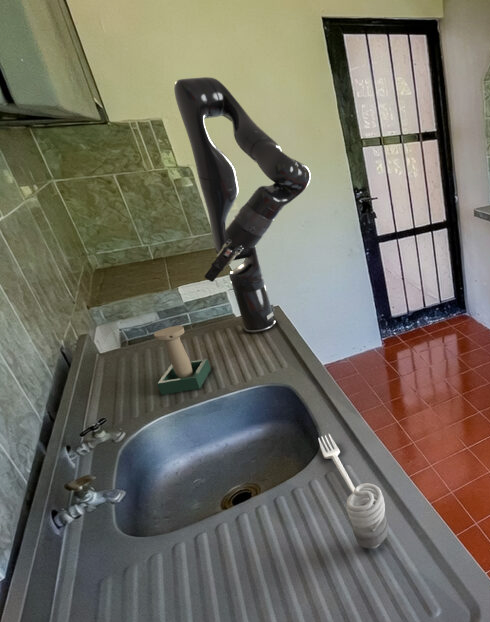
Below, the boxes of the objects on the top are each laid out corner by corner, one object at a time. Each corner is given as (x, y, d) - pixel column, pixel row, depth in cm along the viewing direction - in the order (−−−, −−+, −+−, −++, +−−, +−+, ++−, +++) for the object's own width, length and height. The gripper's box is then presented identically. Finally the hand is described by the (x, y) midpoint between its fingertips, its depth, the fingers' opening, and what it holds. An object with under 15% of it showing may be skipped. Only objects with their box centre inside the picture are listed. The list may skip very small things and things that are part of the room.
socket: (175, 374, 126) (171, 364, 125) (211, 369, 128) (207, 358, 127) (161, 394, 117) (156, 383, 116) (199, 388, 119) (195, 377, 118)
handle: (202, 379, 123) (184, 330, 116) (174, 388, 119) (154, 338, 113) (199, 372, 126) (181, 323, 120) (172, 380, 123) (152, 331, 116)
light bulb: (398, 545, 75) (388, 491, 70) (368, 567, 71) (355, 512, 66) (379, 524, 79) (369, 472, 73) (350, 545, 75) (337, 492, 70)
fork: (350, 504, 83) (348, 497, 82) (317, 445, 98) (315, 438, 97) (367, 496, 84) (365, 488, 84) (332, 439, 99) (331, 432, 98)
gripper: (242, 209, 118) (207, 256, 120) (228, 221, 105) (189, 274, 107) (269, 227, 121) (234, 273, 123) (258, 241, 108) (220, 292, 111)
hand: (213, 273), depth 115 cm, fingers open, 8 cm apart
